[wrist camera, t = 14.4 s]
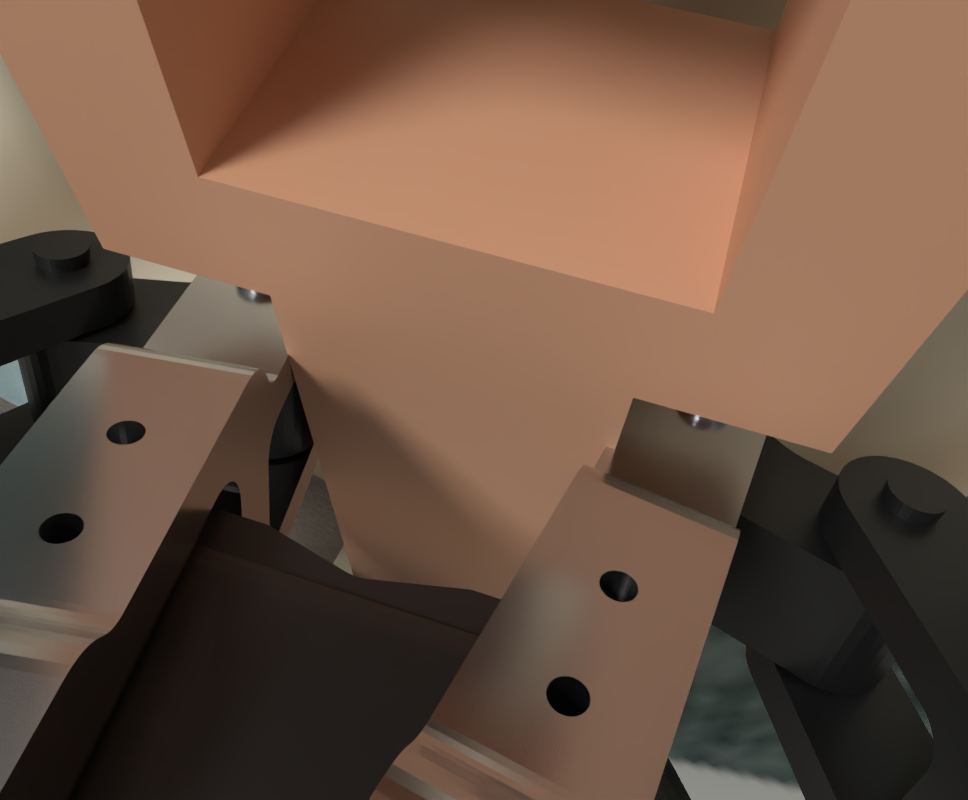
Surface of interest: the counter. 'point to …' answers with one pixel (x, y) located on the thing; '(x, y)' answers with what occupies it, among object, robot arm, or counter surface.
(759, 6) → the board
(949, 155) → the link
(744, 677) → the counter surface
